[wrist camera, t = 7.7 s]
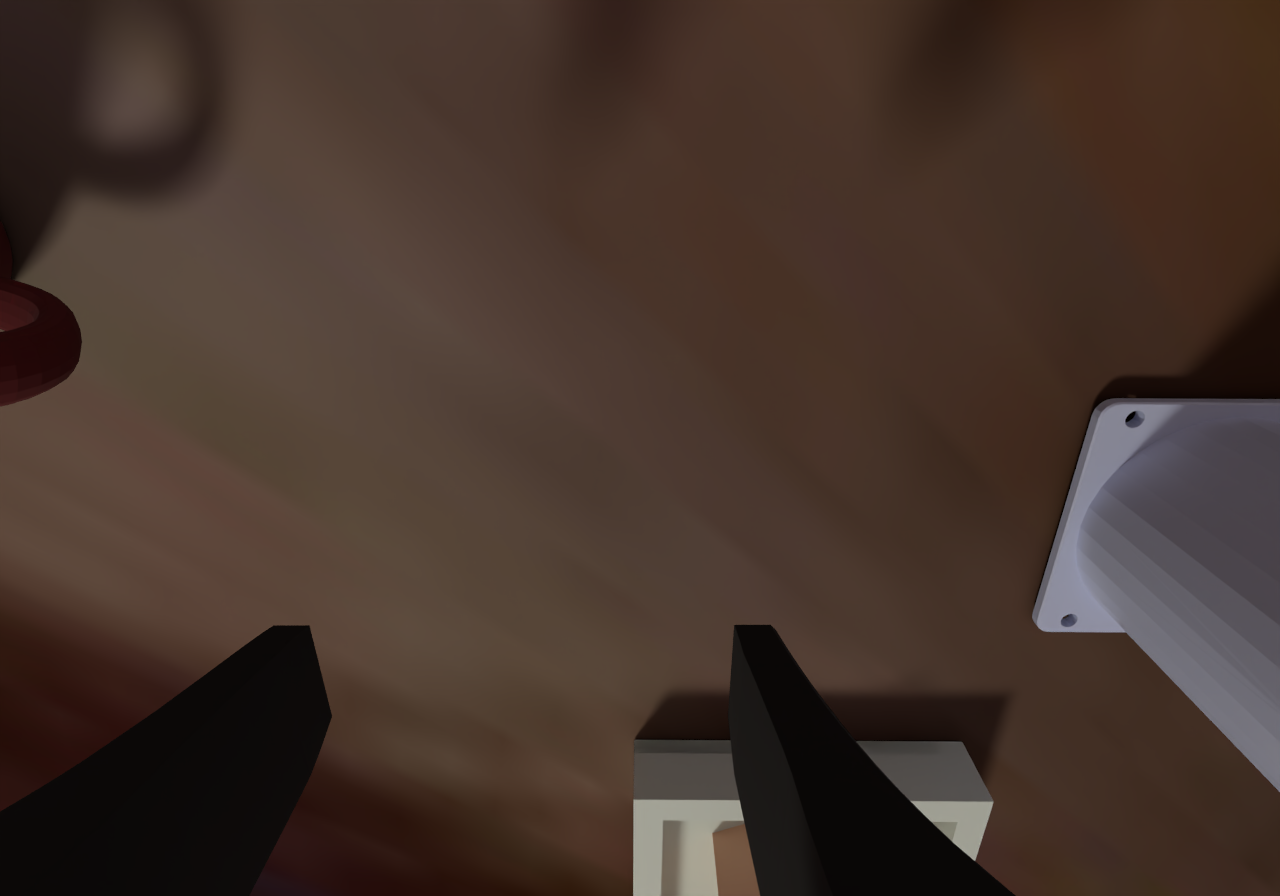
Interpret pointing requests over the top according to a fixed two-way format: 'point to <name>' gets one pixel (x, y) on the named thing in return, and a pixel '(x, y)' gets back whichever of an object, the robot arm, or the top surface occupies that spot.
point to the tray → (709, 802)
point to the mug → (32, 336)
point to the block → (734, 863)
